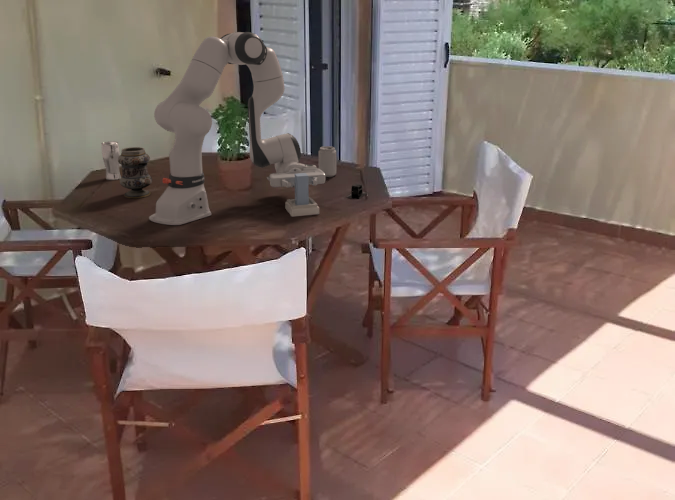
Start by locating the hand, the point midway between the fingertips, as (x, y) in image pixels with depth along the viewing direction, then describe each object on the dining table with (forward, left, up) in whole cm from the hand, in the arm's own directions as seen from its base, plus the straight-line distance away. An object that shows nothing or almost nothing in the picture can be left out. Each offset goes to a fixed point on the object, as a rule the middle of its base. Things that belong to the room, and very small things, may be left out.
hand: (302, 184), depth 262 cm
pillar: (+1, +1, -8) cm, 8 cm away
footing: (+1, +1, -10) cm, 10 cm away
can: (+50, +18, -10) cm, 54 cm away
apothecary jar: (-11, +68, -10) cm, 69 cm away
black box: (+29, -7, -11) cm, 31 cm away
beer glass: (+3, +94, -10) cm, 94 cm away
